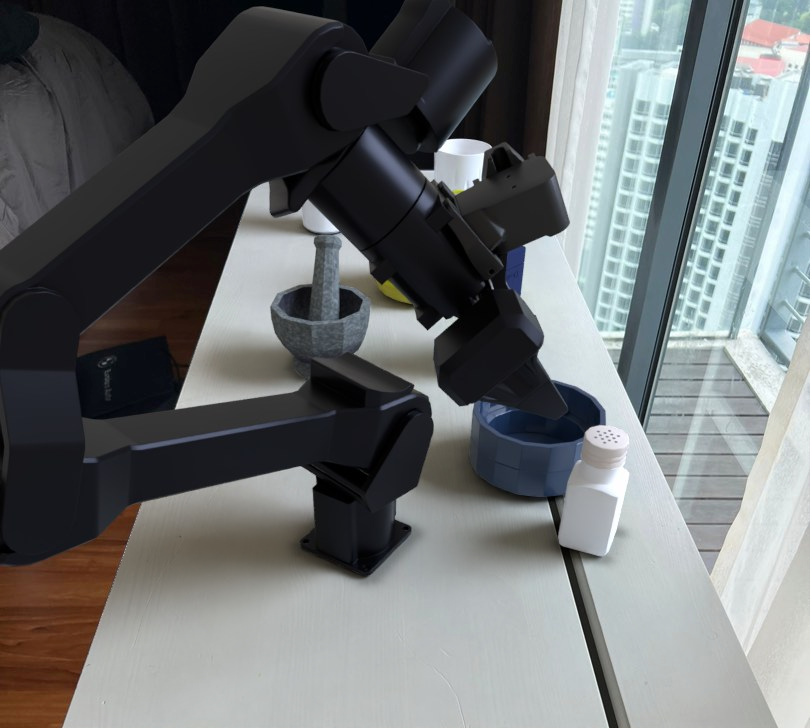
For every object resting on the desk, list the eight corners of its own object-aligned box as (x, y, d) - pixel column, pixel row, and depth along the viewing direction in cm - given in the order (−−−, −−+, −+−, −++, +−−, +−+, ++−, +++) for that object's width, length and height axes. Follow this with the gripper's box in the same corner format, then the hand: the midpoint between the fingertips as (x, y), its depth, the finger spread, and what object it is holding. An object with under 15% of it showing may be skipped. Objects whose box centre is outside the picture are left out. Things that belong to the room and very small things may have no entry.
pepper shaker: (567, 518, 68) (585, 417, 62) (616, 530, 67) (640, 429, 61) (554, 547, 65) (572, 444, 59) (606, 561, 64) (629, 457, 58)
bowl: (564, 518, 68) (574, 462, 64) (446, 475, 72) (449, 420, 69) (613, 454, 75) (625, 400, 72) (503, 418, 80) (509, 366, 76)
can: (296, 221, 118) (290, 129, 111) (339, 216, 121) (336, 125, 113) (312, 237, 114) (307, 142, 106) (356, 231, 116) (355, 137, 108)
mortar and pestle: (361, 393, 83) (360, 274, 75) (268, 386, 83) (256, 268, 76) (376, 341, 91) (376, 230, 84) (291, 335, 92) (283, 224, 84)
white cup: (424, 226, 118) (427, 151, 112) (439, 209, 124) (442, 136, 118) (479, 233, 117) (485, 157, 110) (491, 215, 123) (497, 142, 116)
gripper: (525, 156, 39) (695, 368, 47) (473, 75, 54) (610, 248, 62) (357, 314, 44) (538, 484, 52) (351, 200, 58) (493, 347, 66)
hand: (547, 379), depth 58 cm, fingers open, 9 cm apart
